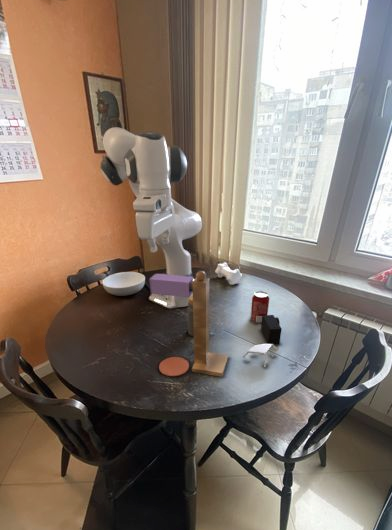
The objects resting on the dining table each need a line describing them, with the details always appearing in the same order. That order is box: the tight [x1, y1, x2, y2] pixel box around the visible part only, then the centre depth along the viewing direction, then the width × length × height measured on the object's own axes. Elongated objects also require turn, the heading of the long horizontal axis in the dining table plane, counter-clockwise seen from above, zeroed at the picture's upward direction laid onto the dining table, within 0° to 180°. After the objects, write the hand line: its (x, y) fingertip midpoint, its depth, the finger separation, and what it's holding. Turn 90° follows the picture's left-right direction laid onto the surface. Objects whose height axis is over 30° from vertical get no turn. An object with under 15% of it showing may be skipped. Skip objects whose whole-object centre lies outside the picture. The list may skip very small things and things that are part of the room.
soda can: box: [249, 290, 270, 324], centre depth 123 cm, size 7×7×12 cm
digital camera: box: [260, 314, 283, 346], centre depth 113 cm, size 10×5×7 cm, turn 5°
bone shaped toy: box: [214, 261, 243, 286], centre depth 161 cm, size 15×9×8 cm, turn 27°
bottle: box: [186, 295, 194, 337], centre depth 115 cm, size 6×6×15 cm
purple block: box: [148, 273, 194, 297], centre depth 89 cm, size 12×5×5 cm, turn 74°
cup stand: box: [189, 270, 229, 378], centre depth 93 cm, size 18×10×33 cm, turn 74°
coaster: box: [158, 356, 190, 378], centre depth 100 cm, size 10×10×1 cm
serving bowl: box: [101, 271, 146, 297], centre depth 151 cm, size 21×21×7 cm
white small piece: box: [242, 343, 279, 368], centre depth 101 cm, size 12×8×5 cm
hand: (160, 247), depth 94 cm, fingers open, 8 cm apart
